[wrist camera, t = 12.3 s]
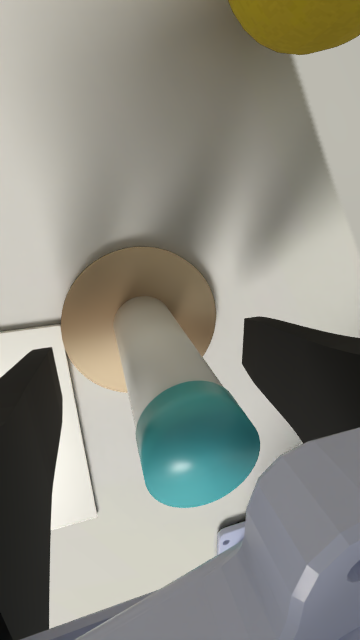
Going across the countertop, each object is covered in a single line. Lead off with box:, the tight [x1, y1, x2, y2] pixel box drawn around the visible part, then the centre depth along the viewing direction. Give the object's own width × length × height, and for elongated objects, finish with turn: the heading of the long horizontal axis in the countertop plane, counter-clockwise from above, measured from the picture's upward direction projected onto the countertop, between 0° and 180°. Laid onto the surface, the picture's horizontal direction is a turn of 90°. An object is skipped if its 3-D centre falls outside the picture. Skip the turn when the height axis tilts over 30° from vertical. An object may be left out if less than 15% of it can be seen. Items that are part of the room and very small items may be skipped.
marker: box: [114, 296, 260, 508], centre depth 10 cm, size 3×3×8 cm
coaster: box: [61, 247, 216, 393], centre depth 14 cm, size 7×7×1 cm
